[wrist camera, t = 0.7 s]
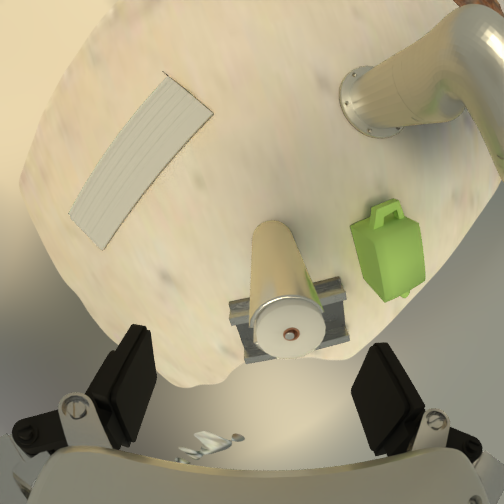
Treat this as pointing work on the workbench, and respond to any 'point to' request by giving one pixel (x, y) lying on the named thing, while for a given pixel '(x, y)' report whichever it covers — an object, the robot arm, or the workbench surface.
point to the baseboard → (137, 159)
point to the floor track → (333, 313)
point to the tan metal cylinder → (282, 295)
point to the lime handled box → (389, 251)
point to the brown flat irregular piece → (492, 3)
